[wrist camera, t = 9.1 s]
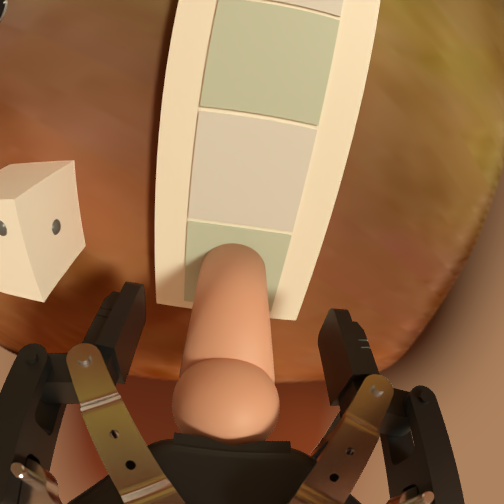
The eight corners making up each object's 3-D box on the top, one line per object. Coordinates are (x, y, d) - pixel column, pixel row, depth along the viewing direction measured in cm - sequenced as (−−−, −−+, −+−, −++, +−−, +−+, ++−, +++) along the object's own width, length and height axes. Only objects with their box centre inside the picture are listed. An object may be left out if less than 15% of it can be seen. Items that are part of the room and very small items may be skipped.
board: (159, 294, 17) (156, 304, 16) (229, -136, 3) (228, -144, 2) (294, 311, 18) (295, 321, 17) (383, -105, 4) (389, -111, 3)
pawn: (197, 293, 16) (169, 460, 8) (201, 236, 14) (159, 423, 6) (260, 300, 16) (269, 468, 8) (273, 246, 14) (297, 434, 6)
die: (25, 241, 15) (-20, 291, 10) (10, 164, 12) (-50, 201, 8) (89, 248, 15) (46, 309, 11) (77, 160, 12) (14, 201, 8)
